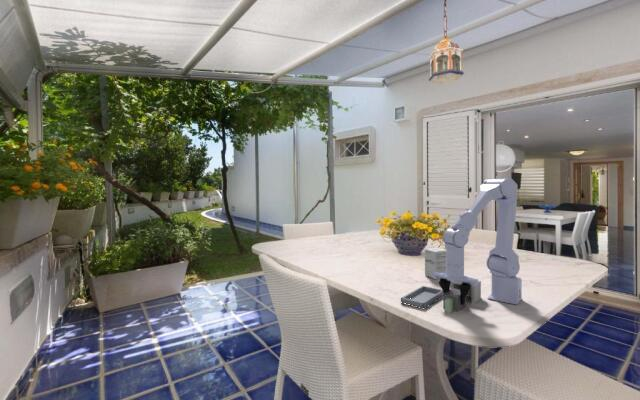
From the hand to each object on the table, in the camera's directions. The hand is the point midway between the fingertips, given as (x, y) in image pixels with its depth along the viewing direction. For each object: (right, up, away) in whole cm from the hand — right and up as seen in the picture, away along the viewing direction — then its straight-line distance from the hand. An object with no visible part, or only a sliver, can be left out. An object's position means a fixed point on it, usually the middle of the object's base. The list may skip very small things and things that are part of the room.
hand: (455, 302), depth 115 cm
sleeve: (+7, -1, +8) cm, 11 cm away
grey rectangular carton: (-1, -1, -1) cm, 2 cm away
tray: (-9, -1, +8) cm, 12 cm away
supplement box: (+6, 0, +35) cm, 36 cm away
